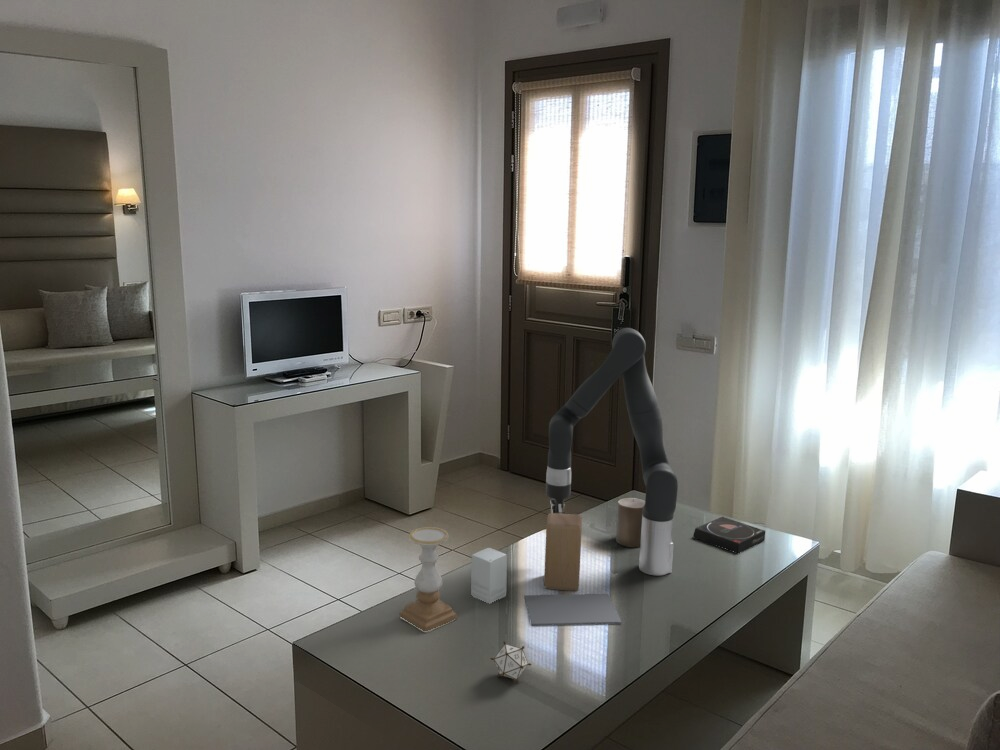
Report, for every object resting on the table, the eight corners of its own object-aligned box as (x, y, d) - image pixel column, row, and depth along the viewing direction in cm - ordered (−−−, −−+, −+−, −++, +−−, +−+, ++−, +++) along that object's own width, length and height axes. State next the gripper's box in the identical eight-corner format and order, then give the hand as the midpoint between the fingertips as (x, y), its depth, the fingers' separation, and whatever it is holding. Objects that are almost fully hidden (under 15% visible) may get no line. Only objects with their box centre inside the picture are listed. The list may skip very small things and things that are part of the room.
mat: (607, 595, 228) (608, 593, 228) (621, 623, 212) (621, 621, 212) (524, 596, 225) (524, 595, 225) (531, 625, 210) (531, 623, 210)
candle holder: (430, 604, 220) (431, 522, 215) (457, 619, 212) (458, 535, 207) (398, 618, 212) (398, 533, 207) (425, 634, 205) (425, 546, 200)
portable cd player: (719, 526, 281) (720, 516, 280) (764, 542, 269) (765, 530, 268) (693, 538, 270) (693, 527, 269) (738, 555, 258) (739, 543, 257)
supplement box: (507, 596, 226) (508, 554, 223) (488, 605, 220) (489, 562, 218) (488, 587, 231) (489, 546, 228) (470, 596, 225) (470, 554, 223)
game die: (502, 688, 188) (488, 646, 192) (536, 676, 189) (522, 634, 192) (498, 691, 180) (484, 646, 183) (534, 678, 180) (519, 633, 183)
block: (578, 576, 239) (581, 513, 235) (578, 592, 229) (581, 526, 225) (545, 574, 240) (547, 511, 236) (543, 589, 230) (546, 524, 226)
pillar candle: (647, 548, 260) (650, 504, 258) (617, 547, 260) (620, 503, 258) (642, 536, 270) (645, 494, 267) (613, 535, 270) (616, 493, 267)
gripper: (574, 488, 235) (572, 543, 238) (567, 473, 247) (565, 526, 251) (549, 488, 234) (547, 543, 237) (543, 473, 247) (541, 526, 250)
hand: (556, 534), depth 244 cm, fingers closed
